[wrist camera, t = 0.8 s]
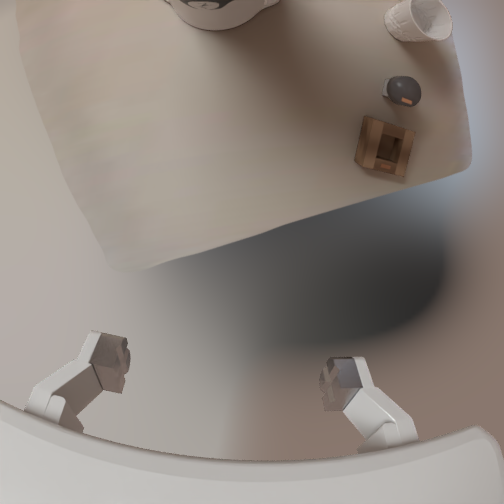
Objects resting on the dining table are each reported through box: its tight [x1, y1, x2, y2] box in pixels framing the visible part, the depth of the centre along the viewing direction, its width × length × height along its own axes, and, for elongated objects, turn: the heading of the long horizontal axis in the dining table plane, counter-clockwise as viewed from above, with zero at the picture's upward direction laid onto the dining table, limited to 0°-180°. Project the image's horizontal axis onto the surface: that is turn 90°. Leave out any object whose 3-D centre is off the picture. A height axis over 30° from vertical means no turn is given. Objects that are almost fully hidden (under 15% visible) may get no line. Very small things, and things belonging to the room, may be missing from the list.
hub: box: [354, 116, 415, 177], centre depth 43 cm, size 8×8×4 cm
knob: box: [382, 76, 421, 107], centre depth 38 cm, size 5×5×6 cm
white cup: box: [384, 0, 453, 42], centre depth 29 cm, size 8×8×10 cm
